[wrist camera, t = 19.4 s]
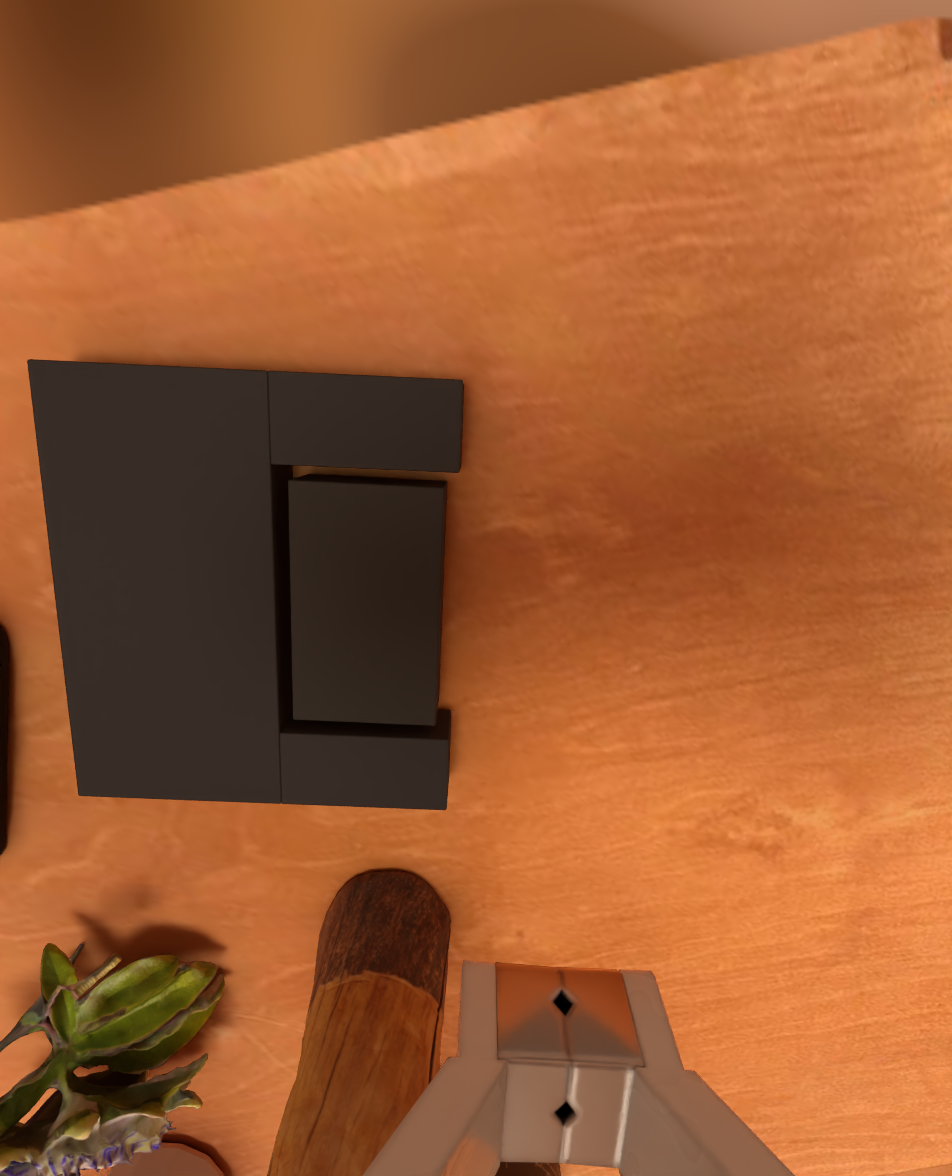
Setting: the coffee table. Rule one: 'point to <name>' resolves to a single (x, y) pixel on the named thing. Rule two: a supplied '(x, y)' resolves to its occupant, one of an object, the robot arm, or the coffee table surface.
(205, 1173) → the water bottle
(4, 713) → the camera
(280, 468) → the base pad
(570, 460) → the coffee table surface
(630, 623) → the coffee table surface
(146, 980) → the passion flower
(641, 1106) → the robot arm
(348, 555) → the black pad
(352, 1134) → the sculpture
